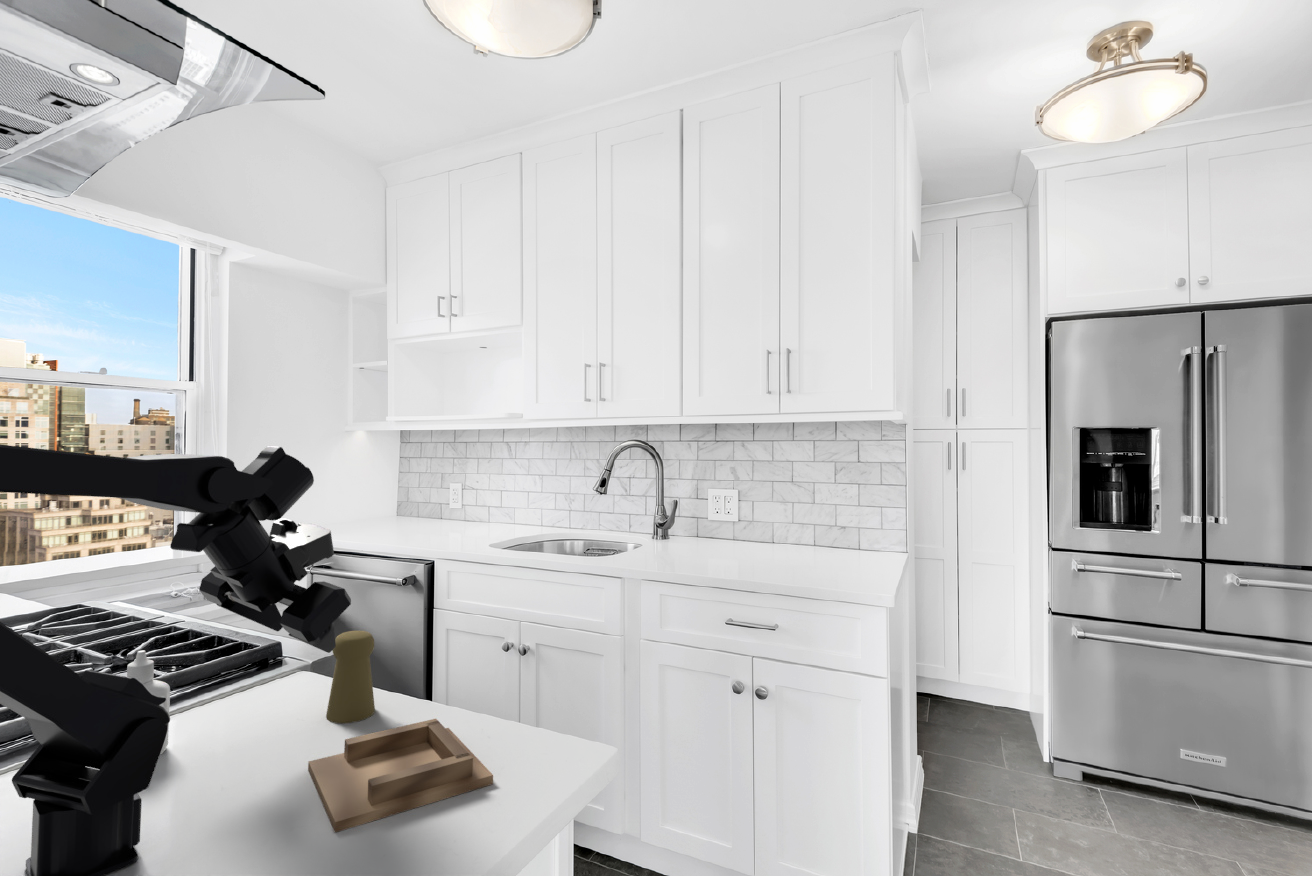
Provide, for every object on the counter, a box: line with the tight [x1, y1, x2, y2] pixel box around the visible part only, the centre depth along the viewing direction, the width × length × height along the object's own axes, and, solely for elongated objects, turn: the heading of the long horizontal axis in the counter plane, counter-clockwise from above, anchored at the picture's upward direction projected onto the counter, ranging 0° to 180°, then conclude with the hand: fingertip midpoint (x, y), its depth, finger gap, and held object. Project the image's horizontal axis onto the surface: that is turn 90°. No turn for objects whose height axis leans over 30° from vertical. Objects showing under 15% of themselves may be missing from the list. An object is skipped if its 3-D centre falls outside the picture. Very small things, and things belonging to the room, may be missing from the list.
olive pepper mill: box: [325, 630, 376, 724], centre depth 88 cm, size 6×6×11 cm
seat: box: [307, 718, 494, 833], centre depth 73 cm, size 16×14×3 cm
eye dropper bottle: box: [126, 650, 171, 755], centre depth 75 cm, size 4×6×12 cm
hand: (305, 638), depth 80 cm, fingers open, 9 cm apart
